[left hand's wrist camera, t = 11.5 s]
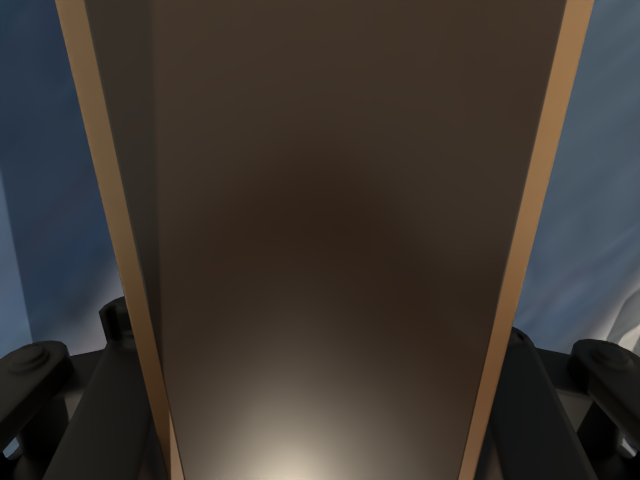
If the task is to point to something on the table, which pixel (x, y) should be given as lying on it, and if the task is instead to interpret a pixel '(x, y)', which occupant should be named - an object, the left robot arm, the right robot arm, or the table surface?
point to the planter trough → (322, 217)
